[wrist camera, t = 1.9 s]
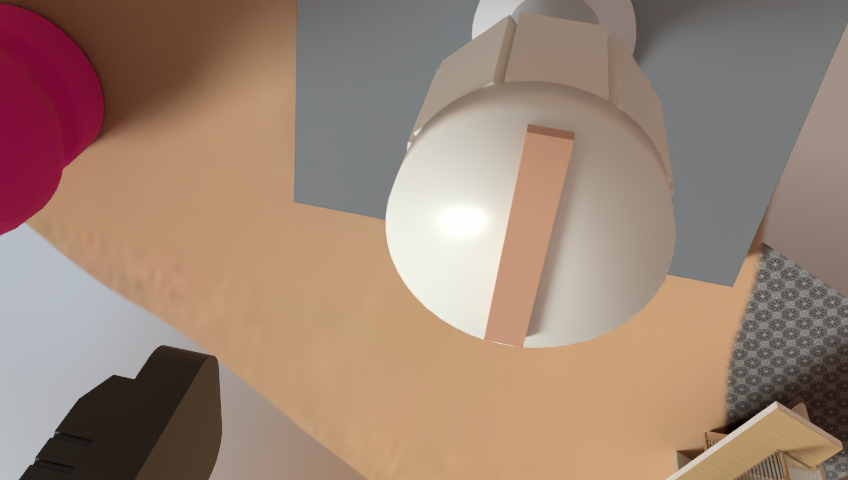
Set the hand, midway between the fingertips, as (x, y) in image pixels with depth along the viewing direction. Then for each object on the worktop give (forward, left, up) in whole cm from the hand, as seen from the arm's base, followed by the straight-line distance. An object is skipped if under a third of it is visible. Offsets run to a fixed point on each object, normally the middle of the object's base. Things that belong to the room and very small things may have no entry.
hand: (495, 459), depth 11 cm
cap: (0, 0, -10) cm, 10 cm away
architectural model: (+16, +11, -19) cm, 27 cm away
